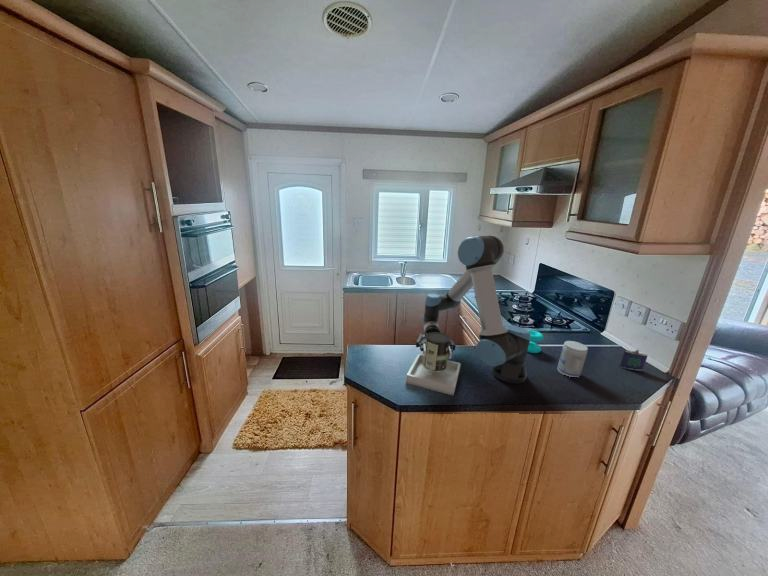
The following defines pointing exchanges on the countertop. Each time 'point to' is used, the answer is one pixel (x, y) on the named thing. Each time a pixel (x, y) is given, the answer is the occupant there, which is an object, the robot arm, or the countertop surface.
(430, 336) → the coffee can
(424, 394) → the countertop surface
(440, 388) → the box
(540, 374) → the countertop surface
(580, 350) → the supplement tub
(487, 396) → the countertop surface
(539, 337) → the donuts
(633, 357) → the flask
